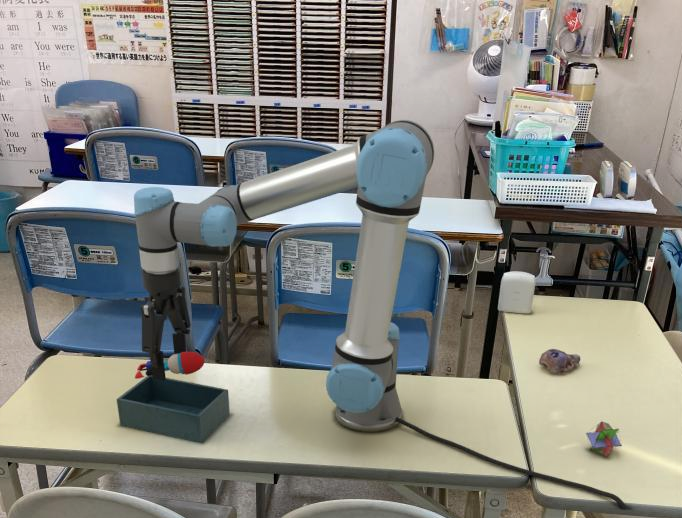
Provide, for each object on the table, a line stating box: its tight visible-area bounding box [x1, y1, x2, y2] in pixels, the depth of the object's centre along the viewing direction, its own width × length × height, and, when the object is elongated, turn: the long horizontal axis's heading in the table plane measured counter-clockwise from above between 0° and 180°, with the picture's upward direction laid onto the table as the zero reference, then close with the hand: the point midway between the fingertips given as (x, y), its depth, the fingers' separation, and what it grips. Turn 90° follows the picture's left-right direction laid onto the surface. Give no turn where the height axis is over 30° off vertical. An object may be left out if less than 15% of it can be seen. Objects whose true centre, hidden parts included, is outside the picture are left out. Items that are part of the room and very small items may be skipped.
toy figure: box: [134, 351, 205, 380], centre depth 166 cm, size 8×5×15 cm
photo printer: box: [497, 270, 536, 315], centre depth 233 cm, size 10×4×12 cm, turn 78°
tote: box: [116, 375, 231, 444], centre depth 172 cm, size 20×13×7 cm, turn 71°
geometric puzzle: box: [585, 420, 623, 459], centre depth 165 cm, size 7×7×8 cm
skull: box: [538, 348, 581, 375], centre depth 201 cm, size 12×8×6 cm, turn 107°
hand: (170, 370), depth 167 cm, fingers closed on toy figure, 8 cm apart
